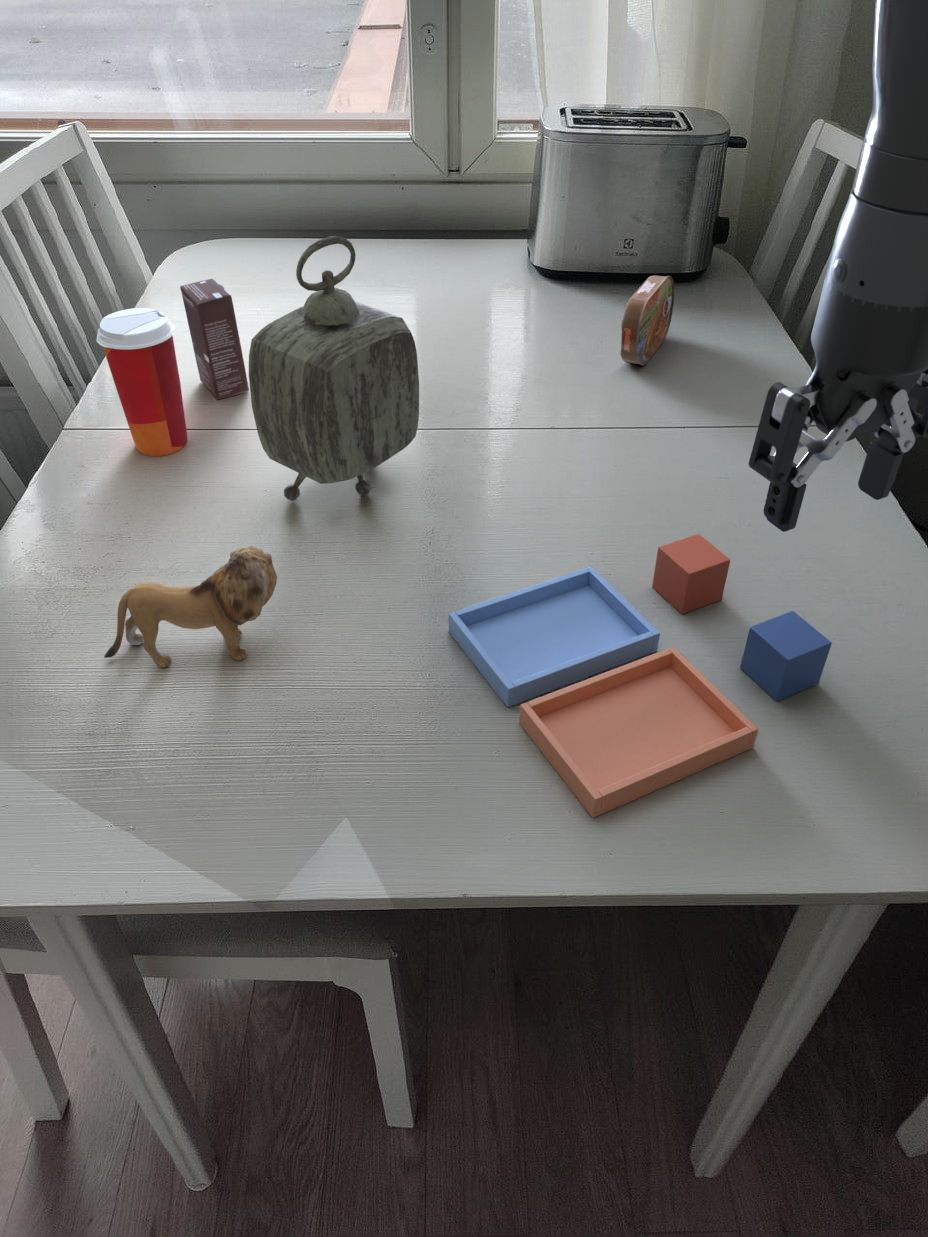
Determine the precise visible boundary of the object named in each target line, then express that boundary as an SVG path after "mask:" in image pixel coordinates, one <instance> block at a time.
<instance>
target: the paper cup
mask: <svg viewBox="0 0 928 1237" xmlns="http://www.w3.org/2000/svg"><path fill="white" fill-rule="evenodd" d="M175 331H176V327H175V326H174V323H172V322H171V321H170V318H169V317H168V316H167V315H166V314H165V313H163V312H162V311H160V310H159V309H157V308H151V307H134V308H126V309H122V310H118V311H115V312H112V313H109V314H107V315H106V316H104V317H103V318H102V319H101V321H100V322H99V328H98V329H97V335H96V341H95V342H96V343H97V344H98V345H99V346H101V347H102V349H103V352H104V355H105V358H106V361H107V364H108V367H109V370H110V374H111V376H112V379H113V382H114V386H115V389H116V391H117V395H118V398H119V402H120V404H121V406H122V410H123V414H124V417H125V420H126V422H127V425H128V428H129V432H130V434H131V437H132V440H133V443H134V446H135V448H136V450H137V451H138V452H139V453H141V454H142V455H145V456H151V457H161V456H162V457H163V456H167V455H171V454H172V455H173V454H174V453H177V452H179V451H181V450H183V448H185V447H186V445H187V443H188V429H187V422H186V415H185V408H184V401H183V393H182V385H181V379H180V374H179V372H180V371H179V367H178V361H177V355H176V347H175V341H174V334H175Z"/></svg>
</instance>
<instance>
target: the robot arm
mask: <svg viewBox="0 0 928 1237" xmlns="http://www.w3.org/2000/svg"><path fill="white" fill-rule="evenodd" d="M874 7H875V8H874V10H875V11H874V28H873V45H872V46H873V49H872V67H871V68H872V69H871V70H872V74H871V75H872V78H871V79H872V80H871V81H872V108H871V112H870V116H869V118H868V122H867V126H866V128H865V129H866V130H865V133H864V138H863V141H862V144H861V148H860V153H859V156H858V161H857V165H856V169H855V173H854V177H853V181H852V185H851V190H850V193H849V195H848V200H847V202H846V205H845V208H844V210H843V213H842V215H841V217H840V219H839V223H838V226H837V228H836V233H835V236H834V240H833V244H832V249H831V252H830V256H829V260H828V264H827V269H826V272H825V277H824V281H823V285H822V289H821V293H820V298H819V300H818V306H817V310H816V314H815V318H814V321H813V327H812V331H811V334H810V342H811V346H812V349H813V352H814V357H815V362H816V363H815V367H814V369H813V370H812V373H811V375H810V376H809V378H808V380H807V381H806V383H805V385H801V386H800V385H799V386H796V387H790V386H789V387H788V385H785V384H784V383H783V382H781V381H780V382H779V381H777V382H775V383H773V384H771V386H770V387H769V388H768V391H767V393H766V397H765V401H764V404H763V407H762V408H763V409H762V410H761V411H762V412H761V415H760V419H759V422H758V426H757V431H756V433H755V438H754V442H753V445H752V449H751V452H750V456H749V460H748V467H749V468H750V469H751V470H753V471H754V472H755V473H757V474H759V475H760V476H761V477H763V478H764V479H766V480H767V481H769V485H768V489H767V494H766V498H765V503H764V506H763V515H764V517H765V518H766V520H767V521H768V522H769V523H770V524H771V525H773V526H774V527H775V528H777V529H778V530H779V531H781V532H783V533H786V532H788V531H791V530H794V529H795V528H796V526H797V523H798V518H799V515H800V511H801V508H802V505H803V501H804V497H805V493H806V489H807V486H808V484H807V483H806V482H807V481H808V480H809V478H810V477H811V476H812V474H813V473H814V472H815V471H816V470H817V468H818V467H819V465H820V464H821V463H822V462H825V461H830V460H832V459H833V458H834V457H835V456H836V454H837V453H838V452H839V451H840V450H841V448H842V447H843V446H844V444H845V443H848V442H850V441H853V440H855V439H856V438H858V437H859V436H861V435H873V434H874V436H875V437H876V438H877V439H875V440H872V441H870V442H869V446H868V449H867V452H866V456H865V459H864V462H863V465H862V468H861V471H860V476H859V479H858V481H857V485H858V489H859V490H860V491H861V492H863V493H865V494H866V495H867V496H869V497H870V498H872V499H874V500H875V501H879V500H882V499H885V498H888V496H889V495H890V492H891V489H892V486H893V485H894V483H895V481H896V477H897V474H898V471H899V469H900V465H901V463H902V460H903V458H904V454H905V453H908V452H909V451H910V450H912V448H913V447H914V446H915V443H916V439H918V438H920V437H922V438H923V439H928V0H875V6H874ZM919 402H920V403H921V404H923V405H924V406H923V407H924V410H923V413H922V414H921V413H919V412H917V409H918V408H917V407H918V404H919ZM813 422H814V425H815V426H816V428H817V429H818V430H819V431H820V432H822V433H823V434H825V435H827V436H826V437H825V438H822V439H817V438H816V437H814V436H813V435H811V434H809V433H808V431H809V427H810V426H811V425H812V424H813ZM772 447H773V448H774V449H775V453H774V454H773V455H771V452H772V449H773V448H772ZM801 448H806V449H807V452H806V454H805V455H804V456H803V458H801V460H800V462H799V463H798V464H797V463H795V462H794V461H795V456H796V454H797V453H798V452H799V451H800V449H801Z"/></svg>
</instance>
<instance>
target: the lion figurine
mask: <svg viewBox="0 0 928 1237" xmlns="http://www.w3.org/2000/svg"><path fill="white" fill-rule="evenodd" d="M229 556H230V557H229V559H228V561H227V562H226V563H224V565H222V566H220V567H219V568H218V569H216V570H215V571H214V572H213V573H212V575H210V576H208V577H207V578H206V579H205V580H203V581H201V583H200V584H198V585H190V586H188V585H187V586H170V585H169V586H168V585H164V584H160V583H158V582H152V581H149V582H143V583H139V584H137V585H134V586H133V587H132V588H130V589H127V591H125V592H124V593H123V595H122V596H121V597H120V600H119V602H118V607H117V616H116V617H117V619H116V620H117V621H116V637H115V640H114V641H113V644H112V645H111V646H110V647H109V648H108V650H107V651H106V653H105V654H104V655H103V658H105V659H107V658H113V657H114V656H116V654H117V653H118V652H119V650H120V648H121V647H122V646H121V645H122V642H123V638H124V631H125V639H126V642H128V644H129V645H132V646H140V645H141V646H142V647H143V649H144V651H145V652H146V653H147V654H148V655H149V657H150V658H151V659H152V661H153V663H154V664H155V665H156V666H158V667H160V668H167V667H169V666H171V664H172V657H171V655H169V654H162V653H161V652H159V650H158V649H157V645H156V642H157V638H158V634H159V629H160V628H159V627H160V626H159V624H160V622H161V621H165V622H167V623H169V624H171V625H174V626H176V627H179V628H182V629H189V630H203V629H208V628H213V627H215V628H216V629H217V630H218V631H219V632H220V634H221V636H222V638H223V640H224V643H225V645H226V649H227V651H228V653H229V655H230V657H232V659H234V660H235V661H243V660H245V659H247V657H248V652H247V651H248V650H247V649H246V648H242V647H241V646H240V644H239V640H240V638H241V637H242V636H243V632H242V631H241V630H240V629H239V626H242V625H243V624H246V623H248V622H252V621H255V620H256V619H257V618H258V617H260V616H261V613H262V609H263V607H264V606H266V605H267V604H268V602H269V601H270V600H271V598H272V597H273V596H274V592H275V589H276V586H277V583H278V575H277V571H276V569H275V567H274V563H273V558H272V557H273V556H272V555H271V553H266V552H264V550H262V549H258V548H257V547H254V546H253V545H248V546H244V547H240V548H237V549H235V550H233V551H231V552H230V553H229ZM127 610H128V611H129V613H130V617H128V618H127ZM126 618H127V619H126ZM137 630H139V631H140V633H136V631H137ZM142 644H143V645H142Z"/></svg>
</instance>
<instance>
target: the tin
mask: <svg viewBox="0 0 928 1237" xmlns="http://www.w3.org/2000/svg"><path fill="white" fill-rule="evenodd" d="M674 304H675V282H674V279H673V277H672V276H671V275H667V276H666V275H665V276H663V275H650V276H649V277H647V279H646V280H645V281H644V282H643V283H642V284H641V285H640V286H639V288H638V289H637V290H636V291H635V292H634V293H633V294H632V295H631V297H630V298H629V299H628V301H627V303H626V305H625V308H624V311H623V314H622V319H621V326H620V328H621V335H620V338H621V339H620V352H619V353H620V357H621V360H622V361H623V362H624V363H628V364H634V365H640V366H645V365H647V364H648V362H649V361H650V359H651V358H652V357H653V355H654V354H655V353H656V352H657V350H658V349H659V348H660V347H661V345H662V344H663V343H664V341H665V340H666V337H667V335H668V332H669V330H670V326H671V322H672V318H673V310H674Z"/></svg>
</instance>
